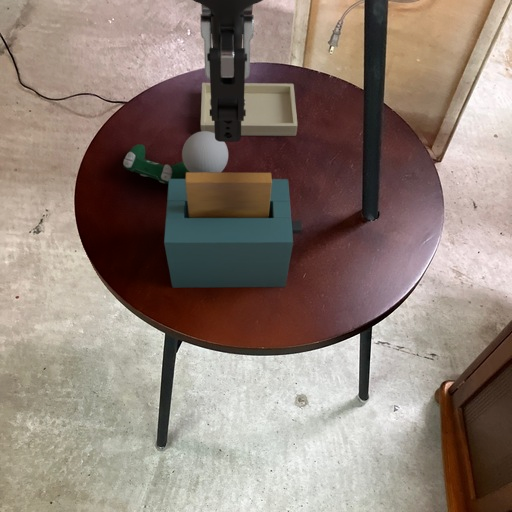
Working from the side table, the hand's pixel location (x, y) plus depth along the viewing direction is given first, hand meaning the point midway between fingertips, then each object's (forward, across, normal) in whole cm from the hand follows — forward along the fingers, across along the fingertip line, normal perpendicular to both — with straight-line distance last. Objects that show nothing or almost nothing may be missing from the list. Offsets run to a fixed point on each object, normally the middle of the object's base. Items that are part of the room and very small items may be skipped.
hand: (227, 104), depth 49 cm
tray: (+25, -26, +3) cm, 36 cm away
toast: (+19, 0, 0) cm, 19 cm away
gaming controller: (+26, -14, -10) cm, 31 cm away
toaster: (+25, 0, 0) cm, 25 cm away
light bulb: (+26, -11, -3) cm, 28 cm away
